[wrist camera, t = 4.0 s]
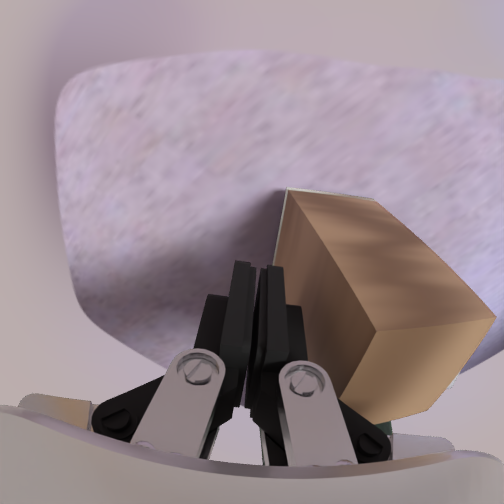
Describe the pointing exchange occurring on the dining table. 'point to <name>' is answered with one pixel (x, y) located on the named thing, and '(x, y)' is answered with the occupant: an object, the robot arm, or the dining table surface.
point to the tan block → (375, 303)
